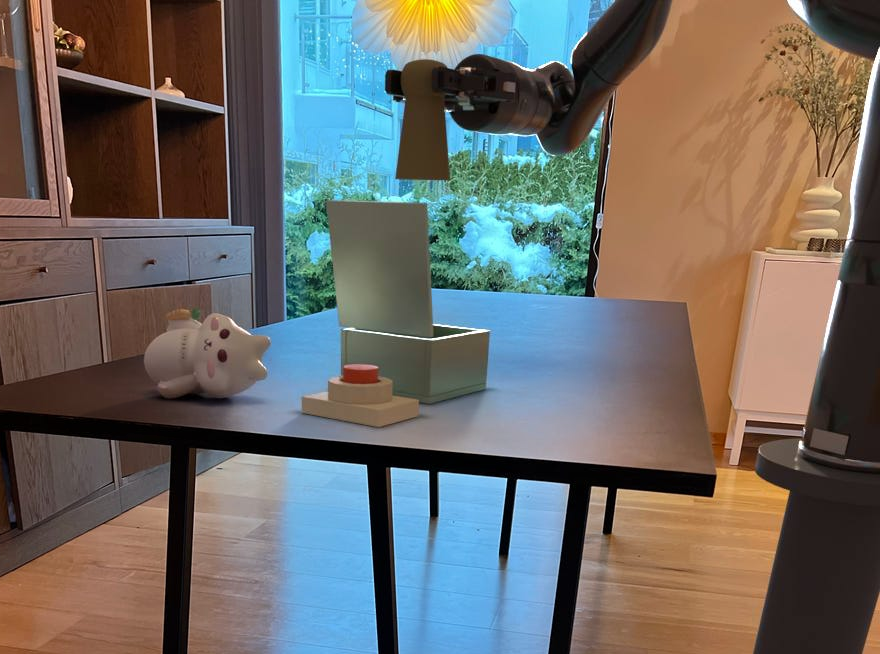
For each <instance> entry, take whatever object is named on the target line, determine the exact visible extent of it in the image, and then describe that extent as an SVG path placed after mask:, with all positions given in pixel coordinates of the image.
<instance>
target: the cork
mask: <svg viewBox="0 0 880 654" xmlns="http://www.w3.org/2000/svg"><path fill="white" fill-rule="evenodd" d="M437 66H441V67H446V68H448V66H447V64H445V63H443V62H441V61H439V60H436V59H435V60H434V59H430V58H429V59H427V58H426V59H425V58H421V59H415V60H412V61H409V62H407V63H405V64H404V65H403V67H402V70H401V71H402V73H401V88H402V91H403V93H404V95H405V97H406V99H405V104H404V106H403V113H402V114H403V115H402V123H401V130H400V138H399V145H398V146H399V147H398V154H397V160H396V161H397V162H396V170H395V177H394V179H395V180H403V181H404V180H406V181H451V173H450V170H451V169H450V160H449V159H450V158H449V157H450V156H449V145H448V132H447V130H448V129H447V119H446V118H447V117H446V111H445V104H444V97H445V95H446V94H441V93H436V92H433V91H432V69H433V67H437Z"/></svg>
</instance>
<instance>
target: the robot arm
mask: <svg viewBox="0 0 880 654" xmlns="http://www.w3.org/2000/svg"><path fill="white" fill-rule="evenodd" d="M673 1H674V0H614V1H613V3H612V4H611V5H610V6H609V7H608V8H607V10H606V11H605V12H603V14H602V15H601V16H600V17H599V19H597V21H596V22H595V23H594V24H593V25H592V26H591V27H590V28H589V30H588V31H587V32H586V33H585V34H584V35H583V37H581V39H580V40H579V41H578V42H577V44H576V45H575V47H574V48H573V50H572V53H571V57H570V64H571V65H570V66H571V71H572V72H571V71H570V69H569V67H567V66H566V65H565V64H564V63H561V62H559V61H550V62H548V63H546V64H543V65H541V66H539V67H537V68H533V69H529V68H525V67H522V66H520V65H519V64H517V63H516V62H512V61H509V60H505V59H502V58H498V57H495V56H492V55H491V56H490V55H488V54H483V53H473V54H471V55H468V56H466V57H464V58H463V59H462V60H460V62H459V63H457V65H456V66H455V68H454V69H453V68H449V67H447V68H446V67H441V66H437V67H433V69H432V91H433V92H436V93H441V94H446V95H445V97H444V104H445V112H447V113H449V115H450V117H451V119H452V120H453V122H454V123H455V124H456V125H457V126H458V127H459V128H461V129H462V130H464V131H468V132H474V133H481V134H488V135H493V136H495V135H496V136H505V135H511V136H519V137H530V136H534V135H535V136H536V138H537V140H538V142H539V144H540V146H541V148H542V150H543V151H544V152H545V153H546V154H548V155H550V156H551V157H563V156H566V155H568V154H571V153H572V152H575V150H577V149H578V148H579V147H580V146H581V145H582V144H584V142H585V141H586V139H587V138H588V137H589V136H590V135H591V132H592V131H593V129H595V126H596V124H597V122H598V121H599V119H600V117H601V115H602V114H603V111H604V110H605V108H606V106H607V105H608V103H609V102H610V100H611V99H612V97H613V94H614V93H615V92H616V90H617V89H618V87H620V86H621V85H622V84H623V82H625V80H627V78H629V76H631V75H632V73H634V71H636V70H637V69H638V67H640V66H641V64H642V63H644V62H645V60H646V59H647V58H648V57H649V56H650V55H651V54H652V52H653V51H654V49H655V48H656V46H657V45H658V44H659V42H660V39H661V38H662V35H663V33H664V31H665V28H666V25H667V22H668V19H669V16H670V12H671V8H672V4H673ZM786 2H787V4H788V6H789V8H790V9H791V11H792V12H793V14H795V16H796V18H798V19H799V21H801V22H802V23H803V24H804V25H805V26H806V27H807V28H808V29H809V30H810V31H811V32H812V33H813V34H814V35H816V36H817V38H819V39H820V40H822V41H823V42H825V43H827V44H828V45H830V46H832V47H834V48H836V49H838V50H841V51H843V52H845V53H848V54H851V55H854V56H856V57H859V58H862V59H866V60H868V61H871V62H874V63H873V66H872V70H871V74H870V78H869V82H868V87H867V91H866V97H865V103H864V106H863V107H864V108H863V114H862V120H861V126H860V132H859V138H858V139H859V140H858V143H857V144H858V145H857V150H856V156H855V162H854V166H853V173H852V178H851V183H850V188H849V189H850V190H849V218H850V219H849V226H848V231H847V236H846V239H847V240H846V241H845V245H844V249H843V254H842V258H841V263H840V267H839V272H838V276H837V281H836V284H835V289H834V292H833V293H834V294H833V298H832V303H831V307H830V310H829V316H828V321H827V324H826V329H825V333H824V338H823V341H822V346H821V350H820V354H819V360H818V363H817V368H816V372H815V377H814V382H813V385H812V386H813V387H812V390H811V395H810V398H809V403H808V408H807V413H806V418H805V422H804V425H803V426H804V427H803V428H802V432H801V438H802V439H801V441H800V442H799V447H798V451H797V454H798V455H799V456H800V457H802V458H803V459H805V460H807V461H810V462H813V463H816V464H819V465H822V466H826V467H831V468H835V469H840V470H847V471H853V472H862V473H874V474H880V0H786ZM401 73H402V70H397V69H387V70H386V71H385V75H384V91H385V93H386V94H387V96H392V101H394V102H396V103H400V104H403V105H405V99H406V97H405V95H404V93H403V91H402V88H401Z"/></svg>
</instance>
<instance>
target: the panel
mask: <svg viewBox="0 0 880 654" xmlns="http://www.w3.org/2000/svg"><path fill="white" fill-rule="evenodd" d="M392 389H393V381H392V380H390V379H388V378H385V377H379V376H378V383H374V384H352V383H345V382H343V375H342V376H341V375H337V376H331V377H330V378H329V379H328V380H327V390H325V391H320V392H316V393H311V394H305V395H302V396H301V413H302V414H306V415H311V416H317V417H323V418H327V419H333V420H338V421H344V422H348V423H349V422H350V423H353V424H354V423H355V424H358V425H359V424H360V425H365V426H369V427H370V426H371V427H375V428H381V427H385V426H389V425H392V424H396V423H399V422H403V421H407V420H411V419H414V418H417V417H419V412H420V411H419V409H420V408H419V407H420V402H419V400H416V399H410V398H404V397H398V396H392Z"/></svg>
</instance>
